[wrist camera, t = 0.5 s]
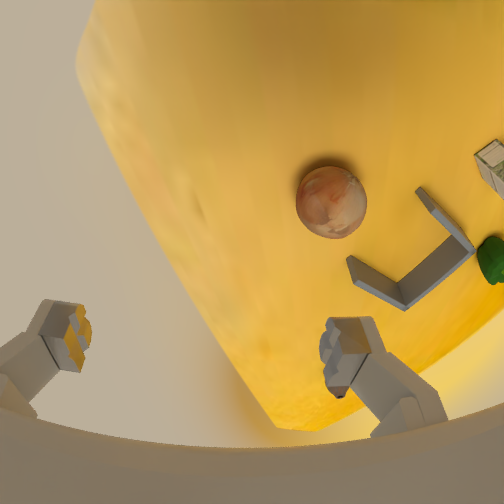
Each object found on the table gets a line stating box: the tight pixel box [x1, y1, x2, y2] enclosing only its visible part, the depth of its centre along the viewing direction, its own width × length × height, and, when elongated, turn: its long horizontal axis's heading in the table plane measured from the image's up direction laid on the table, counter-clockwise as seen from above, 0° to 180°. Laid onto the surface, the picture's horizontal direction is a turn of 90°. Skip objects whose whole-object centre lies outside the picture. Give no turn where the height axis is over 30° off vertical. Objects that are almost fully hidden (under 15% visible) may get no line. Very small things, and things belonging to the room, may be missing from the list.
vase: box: [325, 381, 350, 399], centre depth 80 cm, size 7×7×9 cm
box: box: [346, 187, 476, 312], centre depth 52 cm, size 18×15×6 cm
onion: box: [296, 166, 367, 239], centre depth 43 cm, size 10×10×10 cm
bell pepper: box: [477, 237, 504, 285], centre depth 51 cm, size 8×8×10 cm
